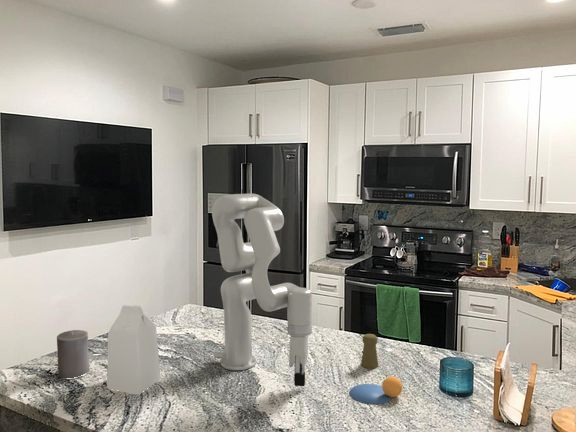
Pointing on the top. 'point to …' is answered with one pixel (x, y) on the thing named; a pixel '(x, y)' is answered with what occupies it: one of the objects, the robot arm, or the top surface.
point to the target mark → (369, 394)
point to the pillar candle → (72, 353)
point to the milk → (132, 352)
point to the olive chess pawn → (369, 352)
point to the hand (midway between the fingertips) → (299, 384)
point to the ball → (392, 386)
